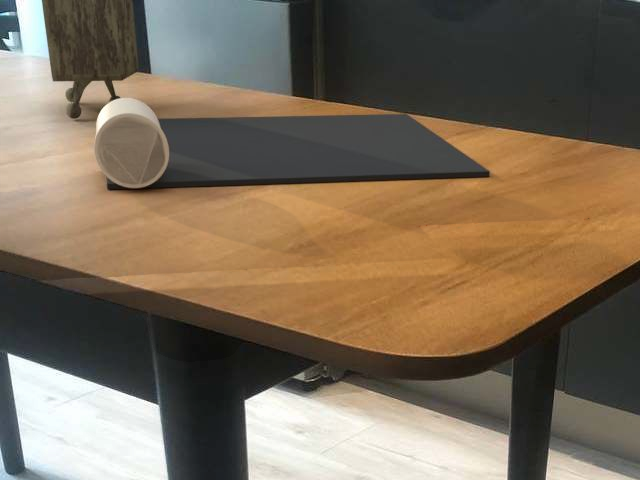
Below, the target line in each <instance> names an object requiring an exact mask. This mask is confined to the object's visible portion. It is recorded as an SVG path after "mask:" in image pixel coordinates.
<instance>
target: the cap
mask: <svg viewBox="0 0 640 480" xmlns="http://www.w3.org/2000/svg"><path fill="white" fill-rule="evenodd" d="M158 119H159V118H158V117H157V115H156V113H155V112H154V111H153V110H152V108H151V107H150V106H149V105H147V104H146V103H144V102H143V101H142V100H141V101H140V100H139V99H136V98H133V97H121V98H119V99H116V100H113V101H111V102H109V101H108V103H107V104H106V105H104V106H103V108H102V109H101V110H100V112H99V113H98V116H97V119H96V122H95V123H96V124H95V137H94V143H93V152H94V158H95V161H96V164H97V165H98V167H99V169H100V170H101V172H102V173H103V175H104V176H105V177H106V176H107V177H108V178H109V179H110V180H111V181H113V182H114V183H116V184H118V185H121V186H124V187H128V188H141V187H145V186H148V185H150V184H152V183H154V182H155V181H157V180H158V179H159V178H160V177H161V175H162V174H163V173H164V171H165V169H166V167H167V164H168V160H169V146H168V142H167V139H166V137H165V135H164V133H163V131H162V130H161V127H160V124H159V121H158ZM141 189H142V188H141Z"/></svg>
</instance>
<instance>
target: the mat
mask: <svg viewBox="0 0 640 480" xmlns="http://www.w3.org/2000/svg"><path fill="white" fill-rule="evenodd" d="M157 119H158V121H159V124H160V127H161V130H162V131H163V133H164V135H165V137H166V139H167V142H168V146H169V160H168V164H167V167H166V169H165V171H164V173H163V174H162V175H161V177H160V178H159V179H158V180H157V181H155V182H154V183H152V184H150V185H148V186H145V187H141V188H128V187H124V186H121V185H118V184H116V183H114V182H113V181H111V180H110V179H109V178H108V177H107V176H106V175H105V180H106V188H107V190H111V191H112V190H135V189H136V190H138V189H139V190H140V189H165V188H169V189H170V188H194V187H195V188H197V187H198V188H199V187H221V186H222V187H225V186H253V185H284V184H285V185H286V184H287V185H288V184H310V183H311V184H316V183H342V182H343V183H344V182H345V183H346V182H371V181H373V182H374V181H375V182H376V181H399V180H400V181H403V180H404V181H405V180H432V179H461V178H462V179H463V178H489V177H490V173H491V172H490V170H489V169H487V168H486V167H484V166H483V165H481V164H480V163H478V162H477V161H475V160H474V159H473V158H471V156H469V155H467V154H465V153H464V152H462V151H461V150H460V149H458V148H457V147H455V146H454V145H452V144H451V143H449V142H448V141H446V140H445V139H444V138H443V137H441V136H440V135H438V134H436V133H435V132H434V131H432V130H431V129H429V128H428V127H426V126H425V125H423V124H422V123H421V122H419V121H417V120H416V119H415V118H414V117H412V116H410V115H409V114H407V113H390V114H388V113H385V114H384V113H383V114H334V115H327V114H326V115H279V116H277V115H276V116H275V115H274V116H232V117H231V116H230V117H229V116H227V117H224V116H223V117H222V116H221V117H177V118H176V117H175V118H171V117H169V118H157Z"/></svg>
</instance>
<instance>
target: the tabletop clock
mask: <svg viewBox="0 0 640 480" xmlns="http://www.w3.org/2000/svg"><path fill="white" fill-rule="evenodd" d="M41 6H42V12H43V20H44V27H45V35H46V42H47V43H46V44H47V50H48V58H49V65H50V73H51V78H52V82H73V84H72V87H69V88H67V89H66V90H65V94H64V95H65V99H66V100H67V101H68V102H69V104H67V105H66V107H65V112H66V115H67V116H68V117H69V118H70V119H73V120H75V119H79V118H80V117H81V115H82V112H83V111H82V108H81V106H80V105H79V104H80V101H81V99H82V96H83V95H84V92H85V89H87V87H88V86H89V85H90V84H91V83H92V82H104V84H105V86H106V88H107V90H108V92H109V95H110V98H109V99H108V103H109V102H111V101H113V100H116V99H119V98H122V97H120V95H116V90H115V87H114V83H113V82H120V81H121V82H122V81H124V80H126V79H128V78H130V77H131V76H133V75H134V74H136V73H138V72H139V59H138V58H139V57H138V46H137V35H136V24H135V13H134V3H133V0H41ZM72 102H73V103H72Z"/></svg>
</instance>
